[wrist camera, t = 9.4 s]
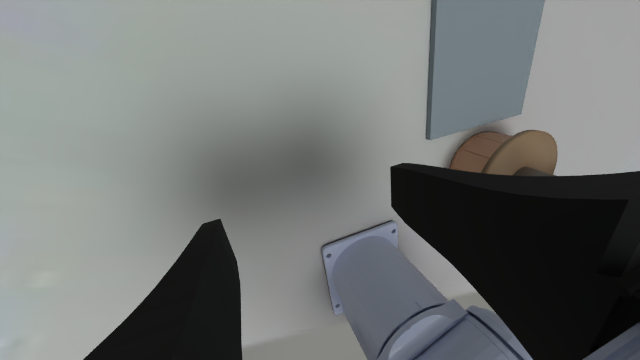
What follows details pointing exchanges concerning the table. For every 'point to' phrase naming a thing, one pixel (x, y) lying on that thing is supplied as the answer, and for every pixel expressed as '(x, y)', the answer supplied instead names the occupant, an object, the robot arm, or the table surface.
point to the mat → (479, 61)
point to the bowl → (477, 151)
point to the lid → (524, 155)
